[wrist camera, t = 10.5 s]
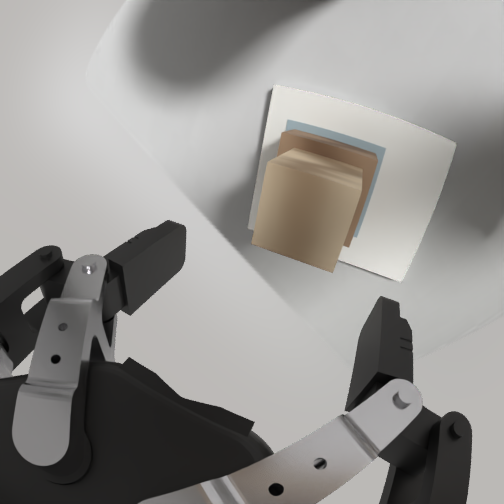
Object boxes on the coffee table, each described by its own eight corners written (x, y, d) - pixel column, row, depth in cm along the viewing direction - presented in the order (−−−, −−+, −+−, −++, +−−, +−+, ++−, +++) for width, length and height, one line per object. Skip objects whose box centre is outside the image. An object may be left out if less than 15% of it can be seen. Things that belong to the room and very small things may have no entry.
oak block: (362, 168, 18) (361, 191, 13) (342, 231, 21) (332, 272, 16) (294, 147, 19) (267, 161, 14) (279, 210, 22) (251, 243, 17)
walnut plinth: (375, 153, 21) (378, 160, 17) (352, 227, 24) (349, 247, 21) (294, 129, 22) (281, 132, 19) (278, 203, 26) (264, 219, 23)
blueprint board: (453, 142, 18) (457, 143, 17) (400, 277, 26) (401, 283, 25) (277, 85, 22) (273, 84, 21) (251, 224, 29) (246, 229, 28)
